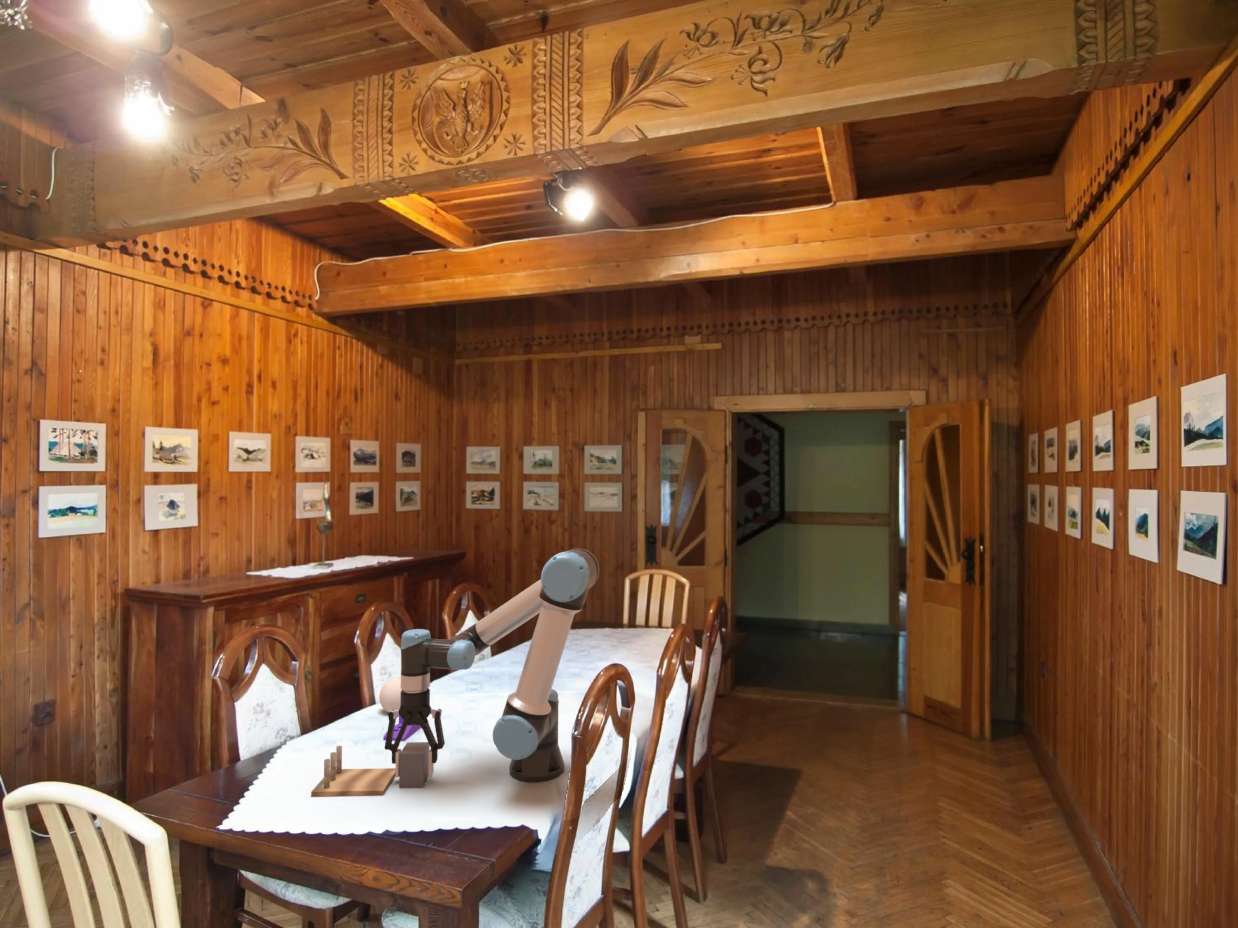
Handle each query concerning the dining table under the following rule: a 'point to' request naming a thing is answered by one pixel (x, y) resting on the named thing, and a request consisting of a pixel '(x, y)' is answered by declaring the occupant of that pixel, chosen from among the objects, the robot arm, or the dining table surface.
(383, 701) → the decorative ball
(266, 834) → the dining table surface
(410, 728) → the bracket
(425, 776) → the block
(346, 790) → the board
